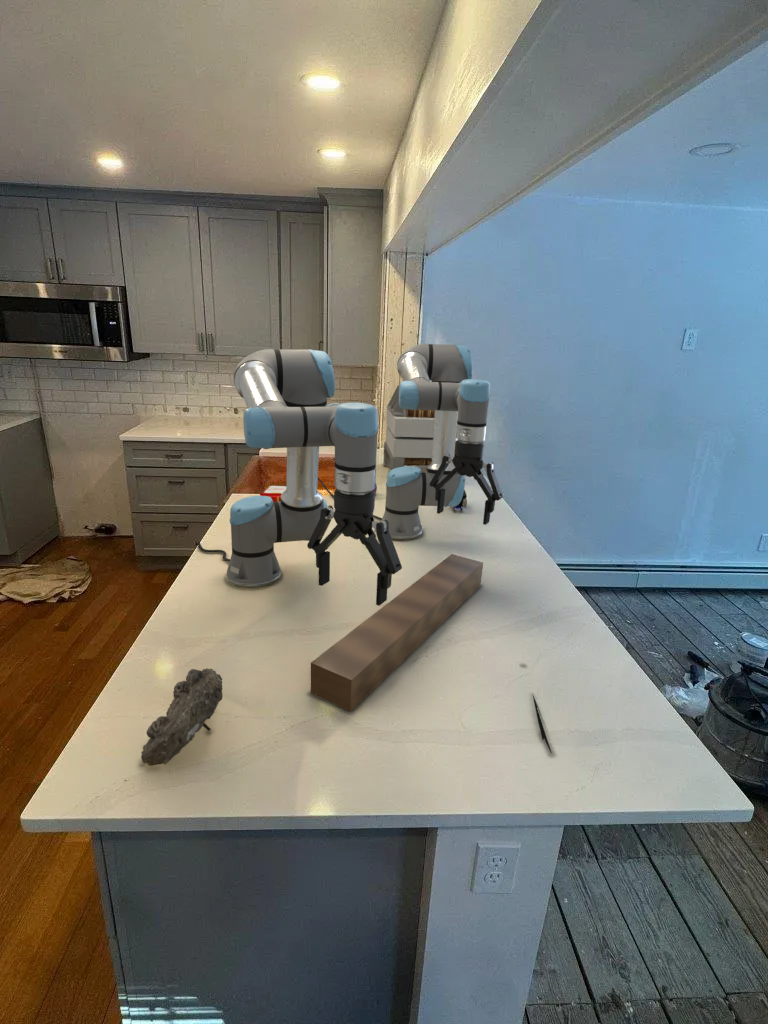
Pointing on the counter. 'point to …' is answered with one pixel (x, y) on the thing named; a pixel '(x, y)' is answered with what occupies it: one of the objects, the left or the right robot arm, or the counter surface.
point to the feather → (541, 724)
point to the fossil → (183, 716)
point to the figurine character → (462, 503)
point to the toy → (274, 492)
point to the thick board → (392, 633)
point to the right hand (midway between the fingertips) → (462, 517)
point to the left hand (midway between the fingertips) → (351, 592)
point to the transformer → (407, 435)
